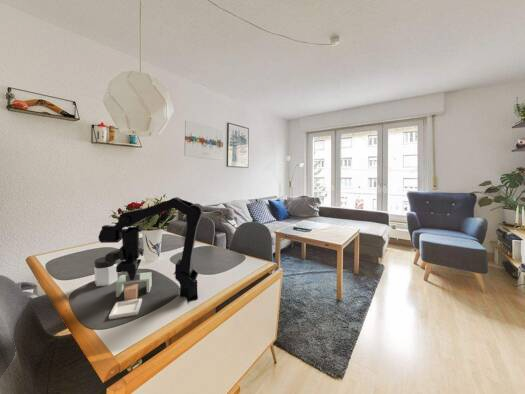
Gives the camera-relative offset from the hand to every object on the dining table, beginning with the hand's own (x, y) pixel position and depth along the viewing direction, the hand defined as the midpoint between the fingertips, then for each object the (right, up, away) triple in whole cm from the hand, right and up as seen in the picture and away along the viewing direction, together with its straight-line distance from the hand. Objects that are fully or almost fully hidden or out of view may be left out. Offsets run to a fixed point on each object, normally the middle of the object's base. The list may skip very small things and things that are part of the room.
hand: (132, 279), depth 88 cm
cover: (-2, -7, +5) cm, 8 cm away
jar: (-19, -7, +12) cm, 24 cm away
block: (0, -7, -1) cm, 7 cm away
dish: (+3, -8, -8) cm, 12 cm away
